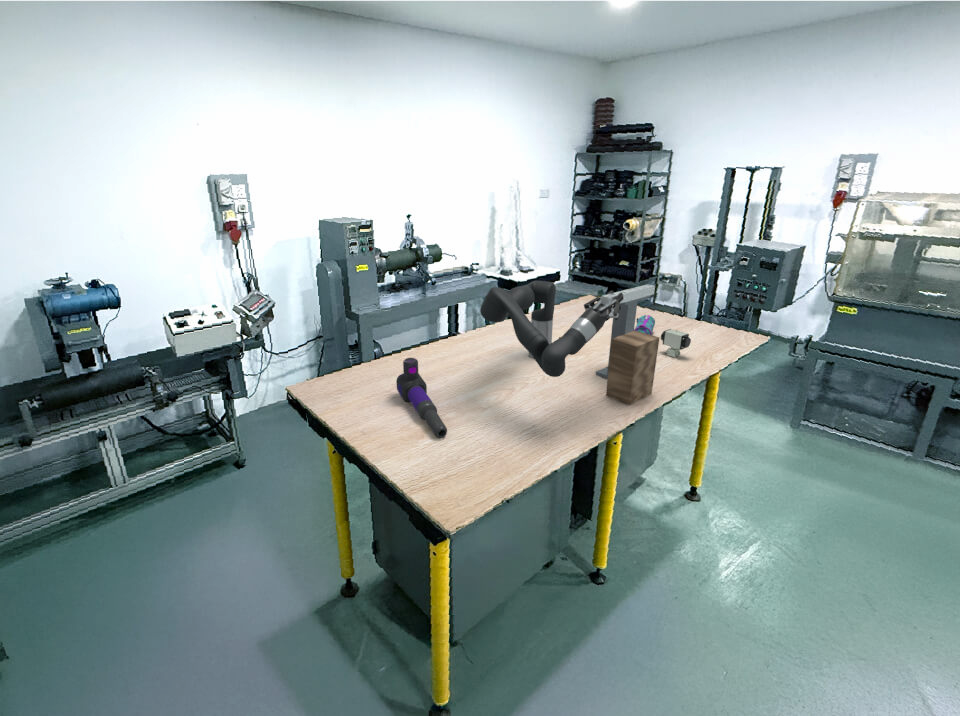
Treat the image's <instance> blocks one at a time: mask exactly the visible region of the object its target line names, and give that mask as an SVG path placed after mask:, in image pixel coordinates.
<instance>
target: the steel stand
mask: <svg viewBox="0 0 960 716" xmlns="http://www.w3.org/2000/svg"><path fill="white" fill-rule="evenodd" d="M650 298H651V295H650V296H646V297H642V298H638V299H635V300H631V301H627V302H624V303H620V305H621V312H620V315H619V319H618V320H615V318H612V325H611V334H610V335H611V336H610V343H609V353H608V354H609V355H608V364H607V365H608V366H606V367H604V368H601V369H598V370H597V371H595V375H596V377H597V376H598V377H600V378H603V379H605V380H608V371H609V361H610V351H611V342H612V339H613V338H616V337H618V336H621V335H624V334H627V333H629V332H632V331H634V329H635V327H636V326H635V325H636V319H637V318H636V316H637V308H638V302H640V301H644V300H648V299H650Z"/></svg>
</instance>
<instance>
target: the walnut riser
mask: <svg viewBox="0 0 960 716" xmlns="http://www.w3.org/2000/svg"><path fill="white" fill-rule="evenodd" d="M660 339H661V336H660V337H659V336H656V335H653V334H652V335H649V334H646V333H642V332H639V331H632V332H629V333H627V334H624V335H621V336H618V337H616V338H613V339H612V342H611V341H610V343H611V351H610V350H609V352H610V361H609V360H608V362H609V371H608V379H606V380H607V382H606V390H605V396H607V397H609V398H611V399H613V400H616V401H619V402H621V403H624V404H626V405H628V406H630V405H632V404H635V403H637V402H639V401H640V400H641V399H644V398H646V397H647V396H650V395H651V394H652V393H653V388H654V387H653V386H654V380H655V379H654V378H655V373H656V365H657V358H658V352H659V345H660V344H659V343H660Z"/></svg>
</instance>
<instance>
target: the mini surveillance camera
mask: <svg viewBox="0 0 960 716" xmlns="http://www.w3.org/2000/svg"><path fill="white" fill-rule="evenodd" d="M660 340H661V342H662V345H664V346H666V347H668V348H667V349H666V353H667V354H666V355H667V356H668V357H671V358H673V359H674V358H676V357H680V355H681V351H682V350H684V349H687V348H689V346H690V345H691V343H692V339H691V338H690V334H689V333H687V332H684V331H680V330H679V329H672V328H669V329H666V330H664V331H662V333H661V334H660Z"/></svg>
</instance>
